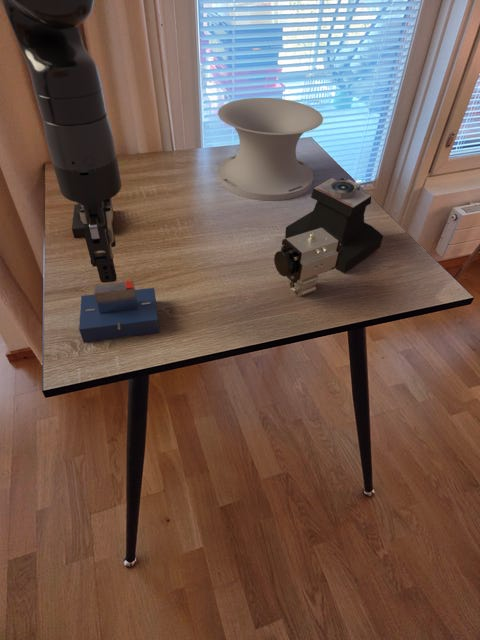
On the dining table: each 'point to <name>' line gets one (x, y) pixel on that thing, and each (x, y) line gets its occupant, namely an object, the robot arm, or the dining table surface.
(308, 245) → the pneumatic valve
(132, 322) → the toggle switch base
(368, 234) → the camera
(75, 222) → the button housing
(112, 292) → the toggle switch lever
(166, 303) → the dining table surface
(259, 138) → the vase
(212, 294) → the dining table surface
